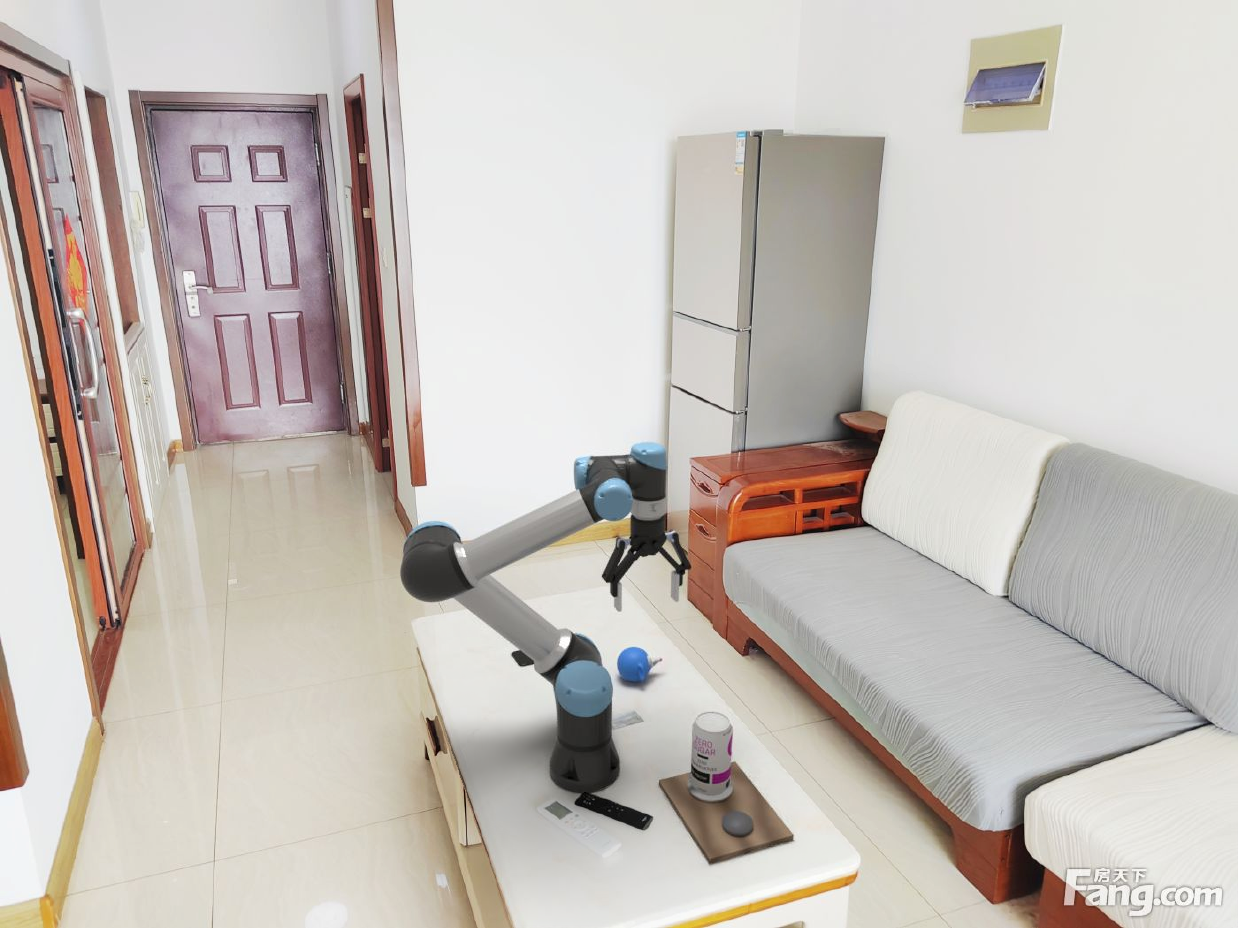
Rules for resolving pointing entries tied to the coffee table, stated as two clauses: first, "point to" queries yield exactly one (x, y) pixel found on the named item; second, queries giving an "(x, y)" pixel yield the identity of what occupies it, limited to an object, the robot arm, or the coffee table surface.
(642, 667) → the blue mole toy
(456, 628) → the coffee table surface
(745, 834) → the grey disc
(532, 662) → the smartphone
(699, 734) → the supplement can
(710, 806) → the walnut board
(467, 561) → the robot arm
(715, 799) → the large steel flange
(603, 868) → the coffee table surface
